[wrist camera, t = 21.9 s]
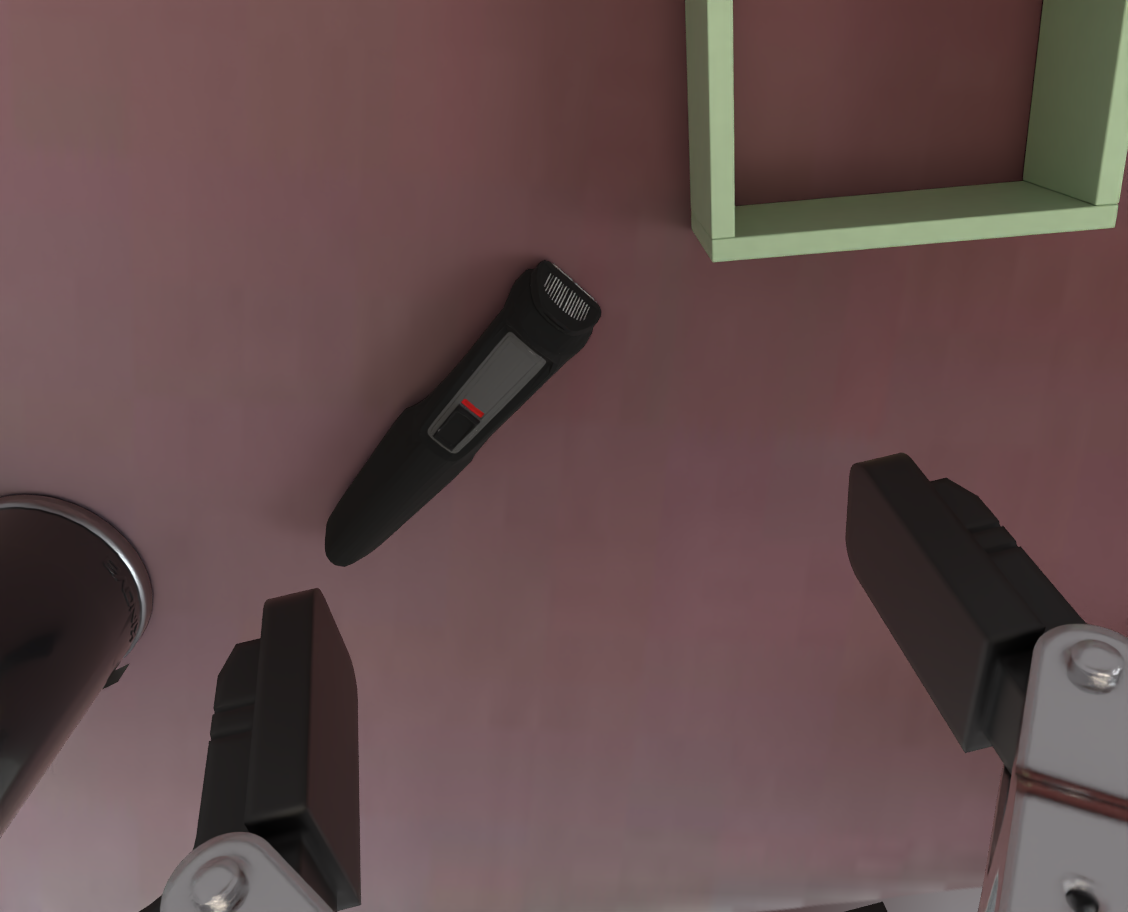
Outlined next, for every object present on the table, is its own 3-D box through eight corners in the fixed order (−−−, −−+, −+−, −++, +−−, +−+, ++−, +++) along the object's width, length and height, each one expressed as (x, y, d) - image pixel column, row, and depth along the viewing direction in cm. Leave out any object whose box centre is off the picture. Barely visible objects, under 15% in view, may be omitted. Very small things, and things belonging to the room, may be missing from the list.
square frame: (691, 230, 37) (712, 262, 32) (680, -144, 32) (703, -174, 27) (1039, 199, 37) (1115, 228, 32) (1087, -184, 31) (1187, -223, 26)
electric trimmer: (311, 503, 42) (293, 539, 40) (539, 249, 37) (536, 269, 34) (378, 551, 43) (365, 590, 41) (608, 310, 38) (611, 335, 36)
